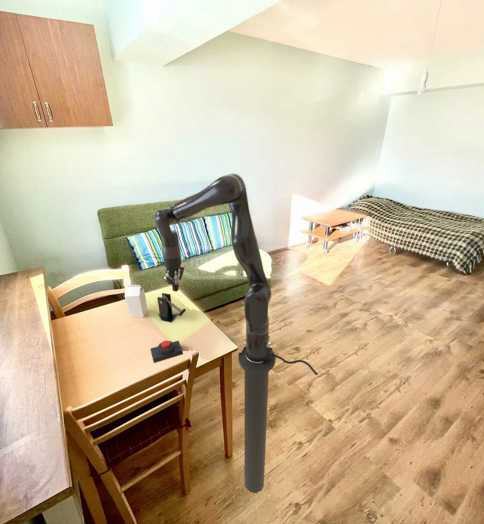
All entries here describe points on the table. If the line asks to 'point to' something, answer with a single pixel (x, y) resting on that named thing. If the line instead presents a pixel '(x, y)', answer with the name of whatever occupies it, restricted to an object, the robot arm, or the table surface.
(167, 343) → the button
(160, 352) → the control block
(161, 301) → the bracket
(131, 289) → the milk carton
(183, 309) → the lever
